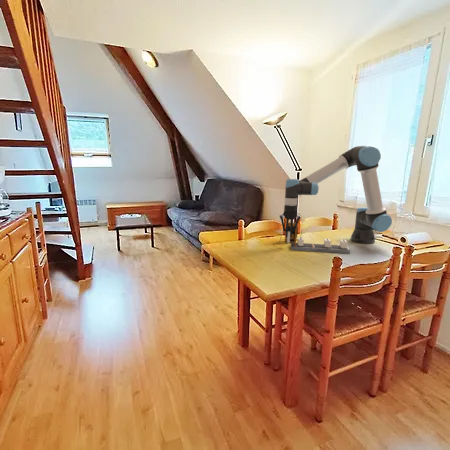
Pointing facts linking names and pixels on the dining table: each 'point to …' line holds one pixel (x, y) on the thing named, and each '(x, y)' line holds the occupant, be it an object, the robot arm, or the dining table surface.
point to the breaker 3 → (343, 244)
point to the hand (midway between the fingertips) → (288, 241)
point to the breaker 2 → (327, 243)
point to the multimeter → (294, 234)
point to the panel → (319, 248)
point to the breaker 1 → (300, 241)
